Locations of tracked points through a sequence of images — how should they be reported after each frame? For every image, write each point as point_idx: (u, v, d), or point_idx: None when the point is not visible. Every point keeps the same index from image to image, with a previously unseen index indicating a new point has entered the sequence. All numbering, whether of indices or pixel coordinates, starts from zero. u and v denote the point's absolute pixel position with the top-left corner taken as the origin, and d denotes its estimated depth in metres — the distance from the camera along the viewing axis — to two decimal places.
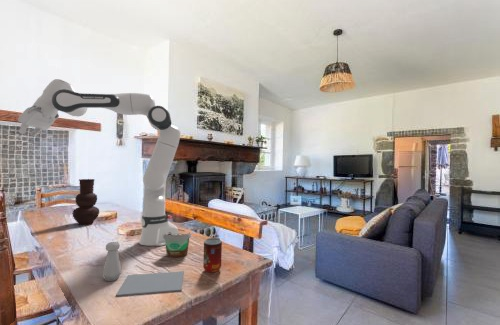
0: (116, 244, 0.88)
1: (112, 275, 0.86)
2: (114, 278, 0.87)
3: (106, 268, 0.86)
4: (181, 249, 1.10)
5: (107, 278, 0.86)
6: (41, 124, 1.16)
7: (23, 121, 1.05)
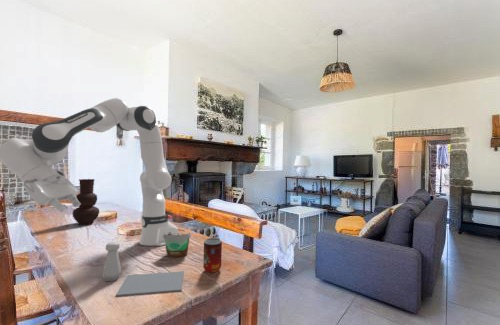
0: (116, 244, 0.88)
1: (112, 275, 0.86)
2: (114, 278, 0.87)
3: (106, 268, 0.86)
4: (181, 249, 1.10)
5: (107, 278, 0.86)
6: (63, 189, 0.87)
7: (43, 199, 0.76)
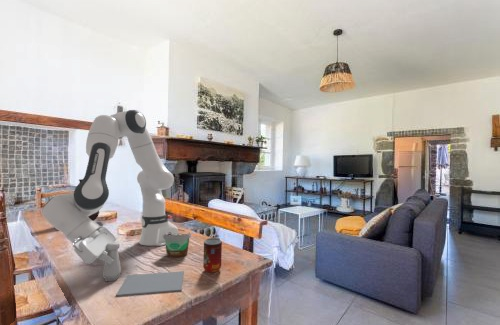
0: (116, 244, 0.88)
1: (112, 275, 0.86)
2: (114, 278, 0.87)
3: (106, 268, 0.86)
4: (181, 249, 1.10)
5: (107, 278, 0.86)
6: (105, 241, 0.89)
7: (92, 258, 0.78)
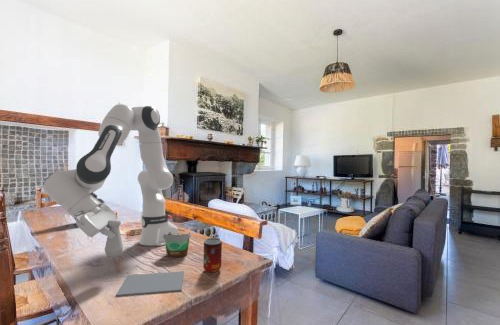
0: (117, 221, 0.89)
1: (114, 251, 0.87)
2: (116, 254, 0.88)
3: (107, 244, 0.87)
4: (181, 249, 1.10)
5: (109, 254, 0.87)
6: (106, 217, 0.90)
7: (94, 231, 0.79)
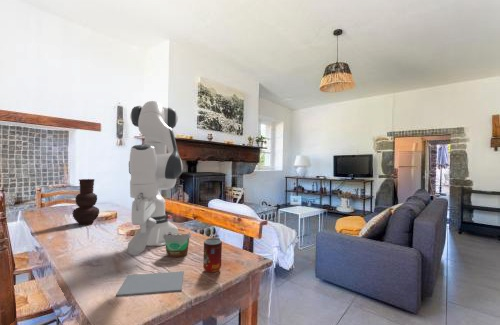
0: (154, 222, 0.86)
1: (137, 250, 0.83)
2: (136, 253, 0.84)
3: (134, 240, 0.84)
4: (181, 249, 1.10)
5: (131, 250, 0.83)
6: (150, 209, 0.87)
7: (139, 222, 0.76)
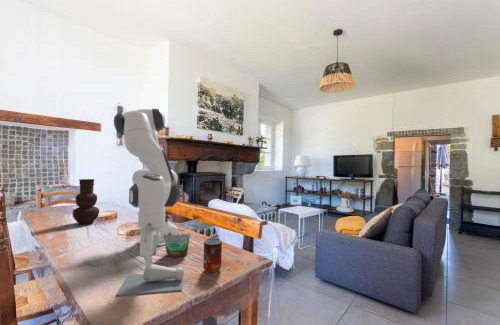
0: (180, 279, 0.87)
1: (149, 279, 0.83)
2: (145, 278, 0.84)
3: (158, 271, 0.85)
4: (181, 249, 1.10)
5: (147, 273, 0.84)
6: (157, 239, 0.88)
7: (147, 254, 0.76)
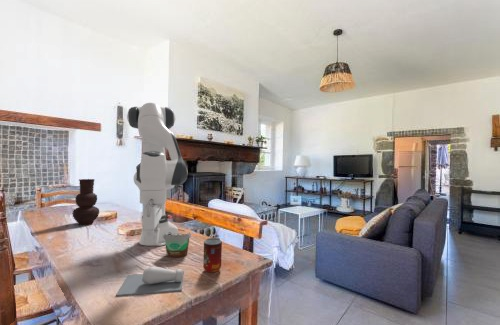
0: (180, 280, 0.87)
1: None
2: (144, 282, 0.83)
3: (157, 277, 0.83)
4: (181, 249, 1.10)
5: (145, 279, 0.82)
6: (159, 215, 0.88)
7: (150, 228, 0.77)
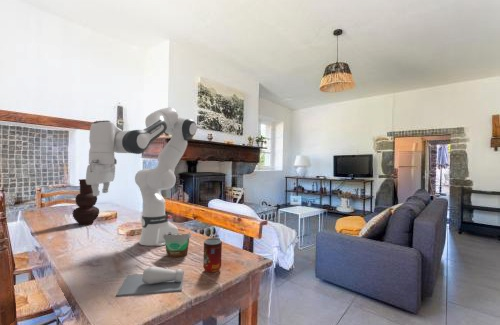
0: (180, 280, 0.87)
1: None
2: (144, 282, 0.83)
3: (157, 277, 0.83)
4: (181, 249, 1.10)
5: (145, 279, 0.82)
6: (107, 176, 1.01)
7: (92, 182, 0.89)
